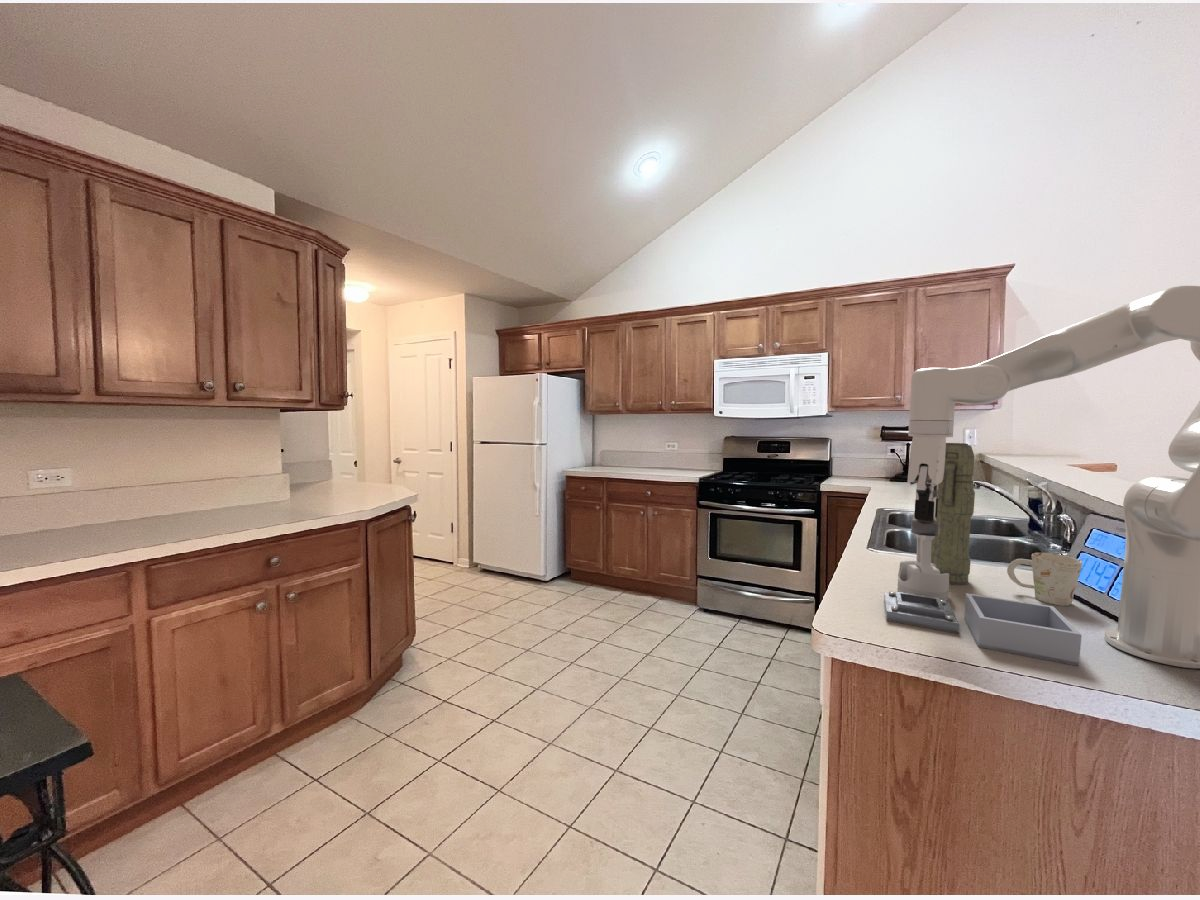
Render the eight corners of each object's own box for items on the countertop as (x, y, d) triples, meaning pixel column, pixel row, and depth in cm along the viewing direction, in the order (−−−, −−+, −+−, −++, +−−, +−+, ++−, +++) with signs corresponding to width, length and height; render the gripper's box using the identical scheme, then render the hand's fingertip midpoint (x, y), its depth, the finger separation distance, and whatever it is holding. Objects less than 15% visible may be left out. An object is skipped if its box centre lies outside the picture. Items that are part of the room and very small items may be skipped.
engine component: (907, 599, 110) (957, 603, 108) (913, 511, 108) (963, 513, 106) (889, 583, 120) (933, 586, 118) (893, 502, 119) (939, 504, 117)
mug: (1076, 611, 104) (1080, 566, 103) (1001, 594, 114) (1005, 553, 113) (1080, 601, 110) (1083, 558, 109) (1008, 586, 119) (1011, 546, 118)
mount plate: (948, 611, 103) (949, 596, 103) (958, 633, 93) (959, 617, 93) (884, 600, 109) (884, 586, 109) (886, 620, 99) (887, 605, 98)
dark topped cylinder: (914, 529, 103) (916, 487, 102) (941, 533, 100) (943, 490, 99) (908, 533, 100) (910, 490, 99) (936, 537, 96) (938, 492, 96)
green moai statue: (924, 581, 122) (932, 443, 119) (929, 569, 131) (937, 441, 129) (968, 589, 117) (978, 445, 114) (969, 576, 126) (979, 443, 123)
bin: (1050, 633, 93) (1053, 606, 93) (1078, 666, 81) (1081, 634, 81) (964, 619, 100) (965, 593, 99) (978, 646, 88) (980, 617, 87)
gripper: (917, 428, 106) (913, 510, 108) (899, 430, 95) (895, 522, 96) (959, 429, 101) (954, 515, 103) (946, 431, 89) (940, 528, 91)
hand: (925, 517), depth 99 cm, fingers closed on dark topped cylinder, 3 cm apart
